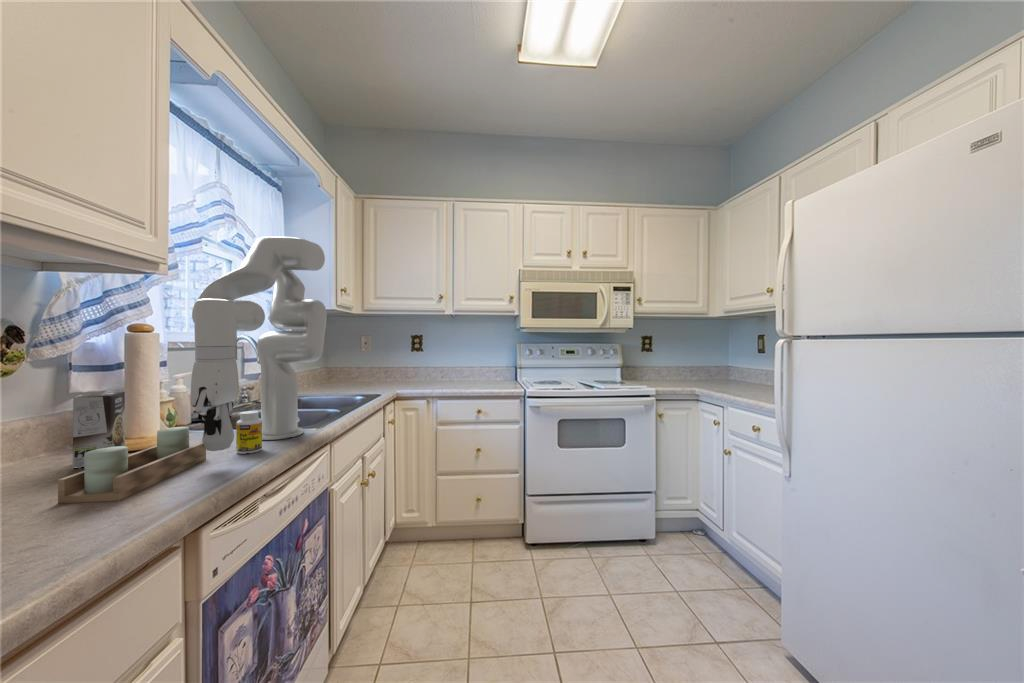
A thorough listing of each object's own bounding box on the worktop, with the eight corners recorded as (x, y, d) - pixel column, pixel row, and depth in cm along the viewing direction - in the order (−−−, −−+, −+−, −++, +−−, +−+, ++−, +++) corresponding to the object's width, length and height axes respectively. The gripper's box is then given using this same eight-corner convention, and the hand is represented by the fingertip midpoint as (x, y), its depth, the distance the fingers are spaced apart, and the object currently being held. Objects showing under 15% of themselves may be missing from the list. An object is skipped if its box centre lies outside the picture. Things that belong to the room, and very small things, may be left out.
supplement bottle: (235, 455, 96) (235, 415, 96) (237, 450, 101) (237, 411, 101) (261, 452, 99) (262, 412, 99) (262, 447, 104) (262, 409, 104)
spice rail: (161, 461, 92) (161, 426, 92) (206, 459, 93) (206, 425, 93) (58, 503, 68) (58, 457, 68) (119, 500, 69) (119, 455, 69)
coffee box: (111, 465, 88) (111, 395, 88) (71, 470, 85) (71, 397, 85) (126, 455, 96) (126, 390, 96) (90, 458, 93) (90, 392, 93)
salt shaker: (240, 444, 90) (239, 389, 89) (219, 452, 84) (218, 393, 83) (217, 443, 90) (216, 388, 90) (195, 451, 85) (194, 393, 84)
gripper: (220, 351, 94) (222, 426, 95) (171, 357, 78) (173, 447, 78) (254, 351, 95) (255, 425, 96) (211, 357, 79) (213, 446, 79)
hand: (218, 434), depth 87 cm, fingers closed on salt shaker, 3 cm apart
